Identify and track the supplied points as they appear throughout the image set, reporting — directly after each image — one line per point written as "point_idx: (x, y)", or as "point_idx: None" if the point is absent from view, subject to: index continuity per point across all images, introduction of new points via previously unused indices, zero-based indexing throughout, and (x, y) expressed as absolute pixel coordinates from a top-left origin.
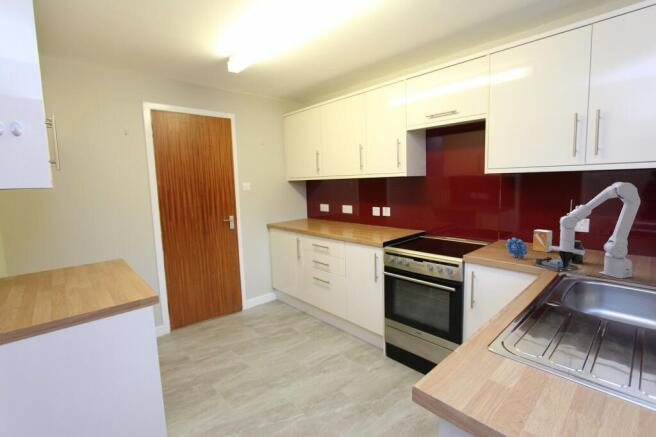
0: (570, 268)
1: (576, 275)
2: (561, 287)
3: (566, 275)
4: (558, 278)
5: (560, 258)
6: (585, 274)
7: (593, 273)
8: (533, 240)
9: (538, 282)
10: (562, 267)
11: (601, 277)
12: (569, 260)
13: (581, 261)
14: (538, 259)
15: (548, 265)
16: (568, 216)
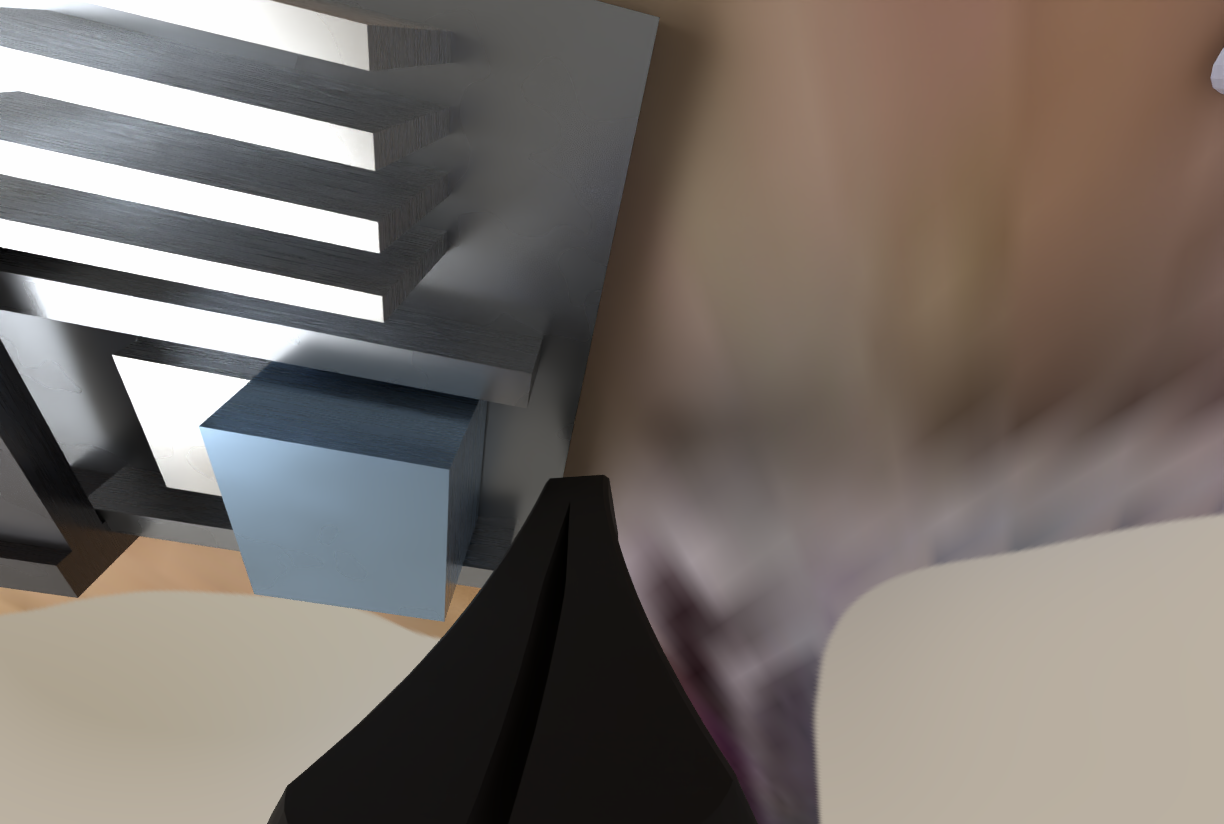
0: (595, 313)
1: (803, 531)
2: (802, 807)
3: (707, 600)
4: (695, 705)
5: (56, 180)
6: (908, 398)
7: (1055, 203)
8: None
9: None
10: (505, 440)
11: (1179, 379)
12: (621, 589)
13: None
14: (60, 584)
15: None
16: None
